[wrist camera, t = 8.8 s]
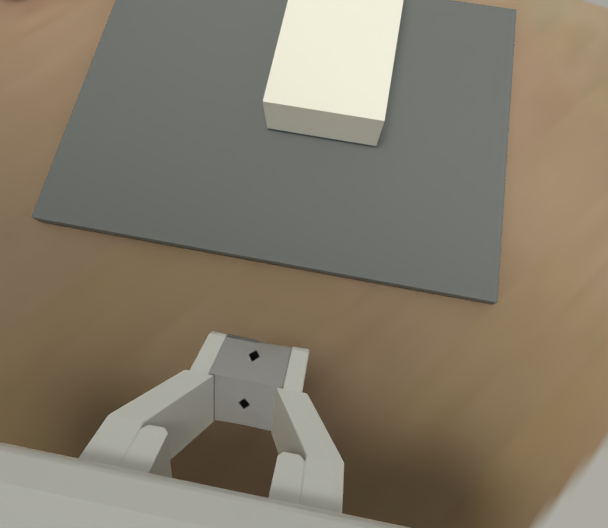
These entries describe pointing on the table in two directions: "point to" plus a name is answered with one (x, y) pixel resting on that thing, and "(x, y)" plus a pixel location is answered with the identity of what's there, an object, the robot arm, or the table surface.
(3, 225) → the table surface
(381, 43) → the tile
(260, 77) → the mat
